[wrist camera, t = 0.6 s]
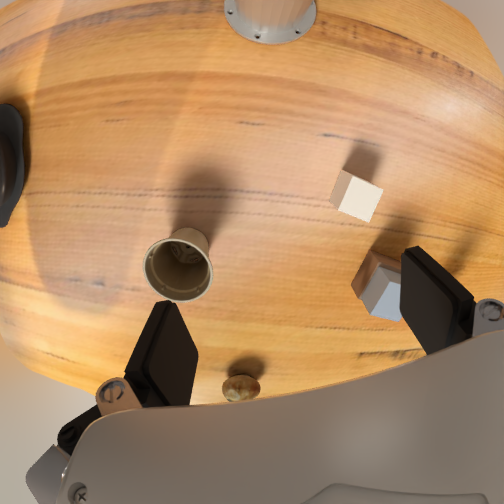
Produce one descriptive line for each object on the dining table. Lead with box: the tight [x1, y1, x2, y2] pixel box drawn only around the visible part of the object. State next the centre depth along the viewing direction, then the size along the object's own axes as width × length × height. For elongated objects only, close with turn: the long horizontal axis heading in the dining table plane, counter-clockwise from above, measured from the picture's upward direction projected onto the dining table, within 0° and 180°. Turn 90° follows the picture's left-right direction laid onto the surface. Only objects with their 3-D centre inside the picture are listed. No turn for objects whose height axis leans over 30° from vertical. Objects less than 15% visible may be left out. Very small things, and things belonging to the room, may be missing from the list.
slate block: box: [361, 267, 402, 322], centre depth 40 cm, size 6×6×4 cm
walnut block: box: [351, 250, 401, 300], centre depth 44 cm, size 7×7×4 cm
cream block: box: [329, 170, 383, 222], centre depth 38 cm, size 5×5×5 cm
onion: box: [222, 375, 260, 402], centre depth 53 cm, size 8×8×8 cm
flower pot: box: [143, 227, 213, 303], centre depth 40 cm, size 9×9×9 cm
